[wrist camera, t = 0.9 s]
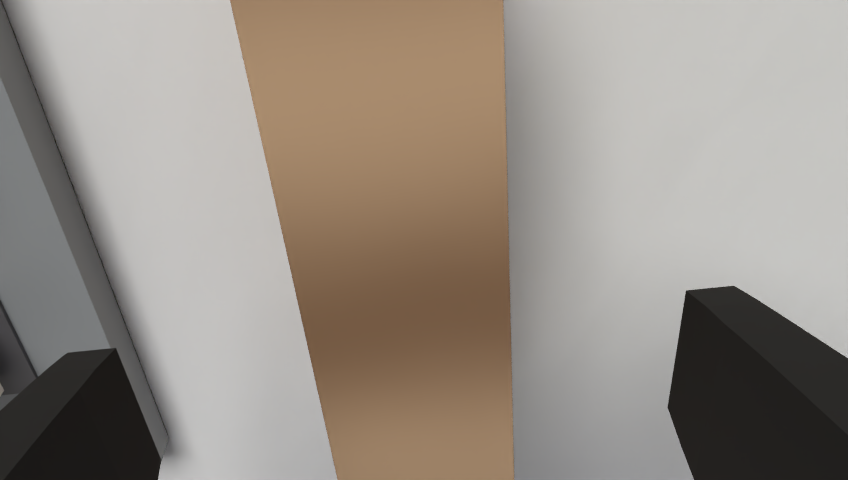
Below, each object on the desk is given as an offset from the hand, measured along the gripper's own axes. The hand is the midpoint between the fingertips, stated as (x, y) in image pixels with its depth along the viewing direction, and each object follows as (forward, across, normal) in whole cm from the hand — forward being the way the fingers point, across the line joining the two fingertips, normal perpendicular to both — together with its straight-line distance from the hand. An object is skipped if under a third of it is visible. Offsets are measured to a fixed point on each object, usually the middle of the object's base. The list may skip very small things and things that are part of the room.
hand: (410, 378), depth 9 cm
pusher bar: (+7, 0, 0) cm, 7 cm away
